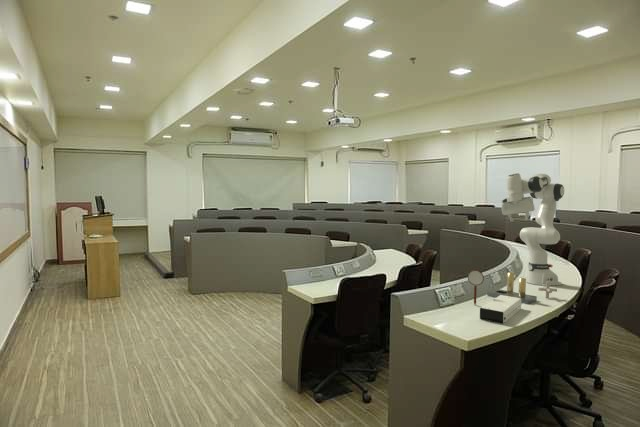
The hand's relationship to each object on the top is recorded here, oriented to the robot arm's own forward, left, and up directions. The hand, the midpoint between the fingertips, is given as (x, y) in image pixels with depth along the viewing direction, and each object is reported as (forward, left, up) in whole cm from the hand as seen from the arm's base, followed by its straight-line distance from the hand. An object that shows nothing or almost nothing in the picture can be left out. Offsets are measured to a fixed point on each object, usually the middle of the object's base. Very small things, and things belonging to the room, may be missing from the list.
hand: (519, 220), depth 258 cm
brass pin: (+5, +1, -46) cm, 46 cm away
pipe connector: (-11, +14, -46) cm, 50 cm away
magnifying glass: (+41, +25, -46) cm, 67 cm away
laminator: (+35, +42, -47) cm, 72 cm away
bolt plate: (+11, +13, -46) cm, 49 cm away
